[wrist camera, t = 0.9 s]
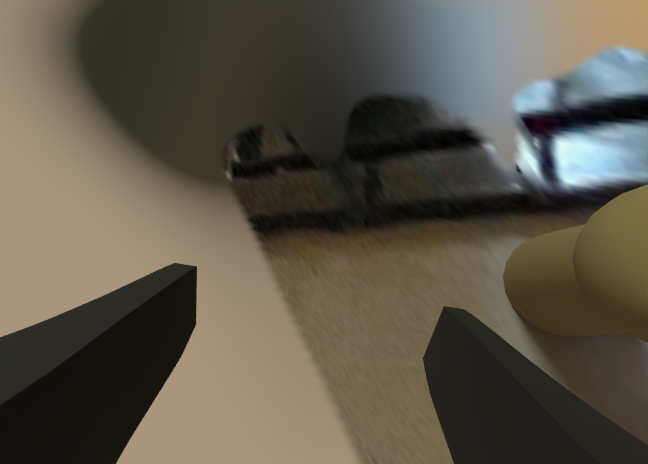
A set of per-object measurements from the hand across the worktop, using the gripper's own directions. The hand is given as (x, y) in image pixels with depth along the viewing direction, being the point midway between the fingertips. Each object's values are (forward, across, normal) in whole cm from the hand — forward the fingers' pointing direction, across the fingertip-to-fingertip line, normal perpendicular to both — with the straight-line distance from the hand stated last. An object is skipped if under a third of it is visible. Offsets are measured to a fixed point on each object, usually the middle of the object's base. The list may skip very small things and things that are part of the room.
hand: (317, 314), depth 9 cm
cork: (+8, -14, +2) cm, 17 cm away
